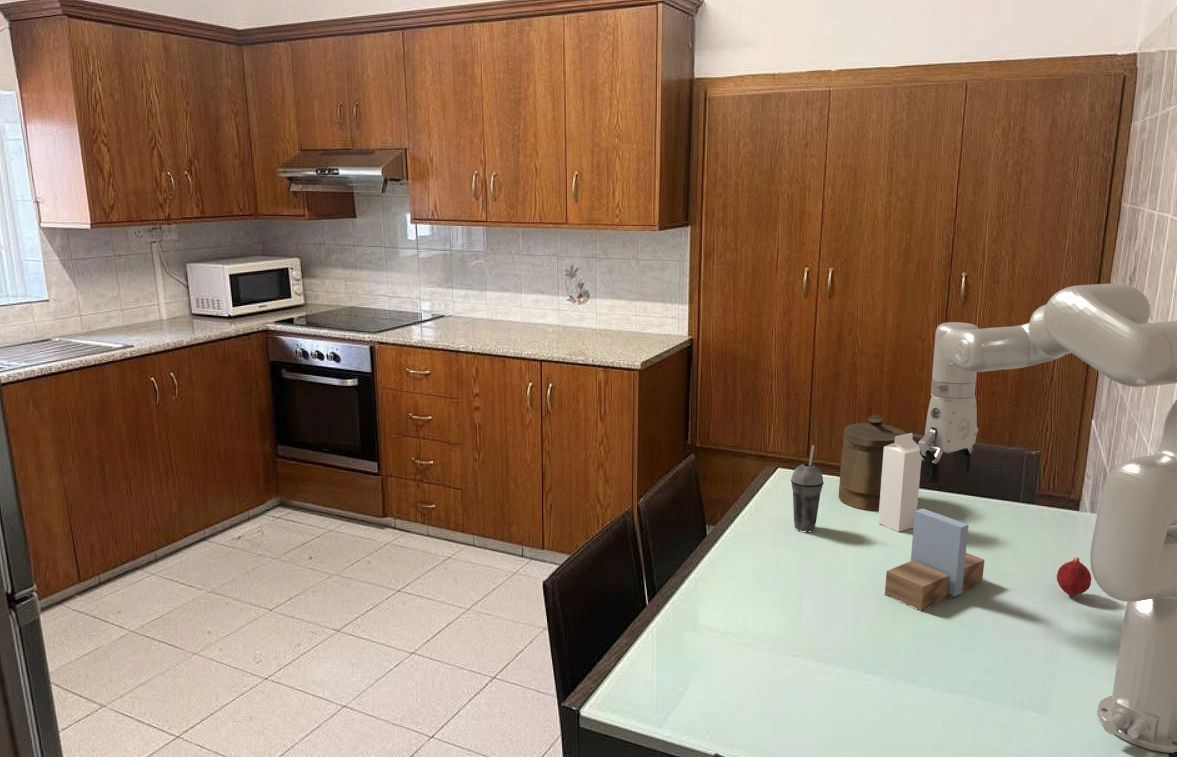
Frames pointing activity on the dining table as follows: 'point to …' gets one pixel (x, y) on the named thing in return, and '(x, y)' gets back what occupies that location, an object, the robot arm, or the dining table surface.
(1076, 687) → the dining table surface
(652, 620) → the dining table surface
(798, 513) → the beverage cup
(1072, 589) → the red pomegranate
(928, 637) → the dining table surface
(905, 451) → the milk
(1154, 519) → the robot arm
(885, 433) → the wooden container
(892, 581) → the slotted base
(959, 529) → the grey block
